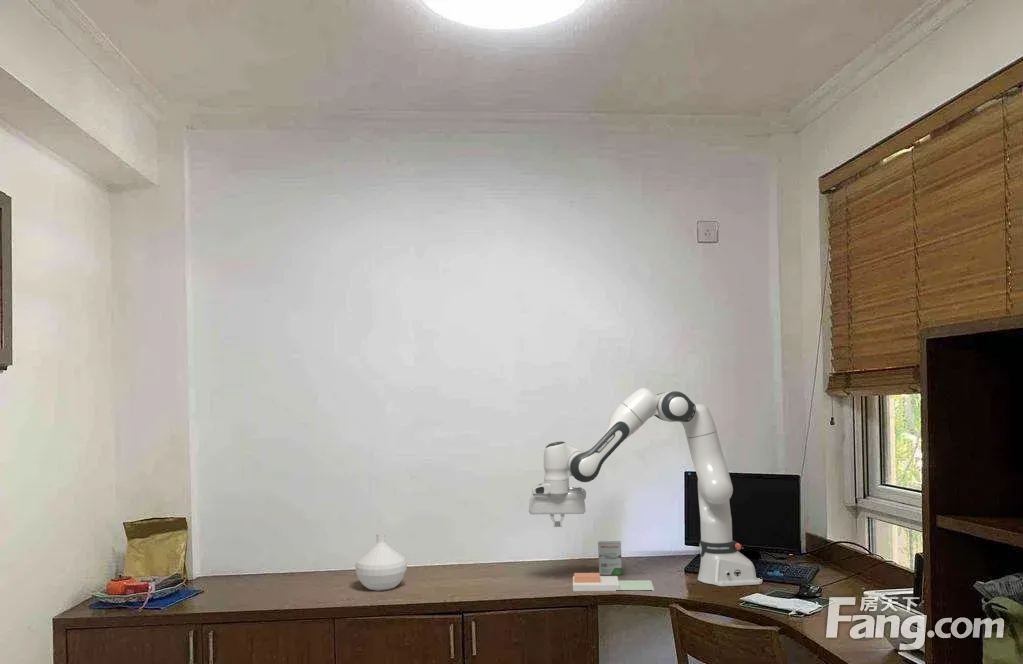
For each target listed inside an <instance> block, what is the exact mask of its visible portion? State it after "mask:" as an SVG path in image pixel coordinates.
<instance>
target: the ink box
mask: <svg viewBox="0 0 1023 664" xmlns="http://www.w3.org/2000/svg"><path fill="white" fill-rule="evenodd" d="M597 546H598V547H597V550H598V573H600V576H618V575H619V576H621V575H623V563H622V562H623V560H622V559H623V558H622V542H621V541H620V540H611V541H610V540H607V541H606V540H603V541H601V540H599V541H598V542H597Z"/></svg>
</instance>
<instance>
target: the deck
mask: <svg viewBox="0 0 1023 664" xmlns="http://www.w3.org/2000/svg"><path fill="white" fill-rule="evenodd" d="M618 581H619V577H618V575H600V583H574V575H573V576H572V591H573V592H617V591H616V590H619V582H618Z"/></svg>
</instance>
